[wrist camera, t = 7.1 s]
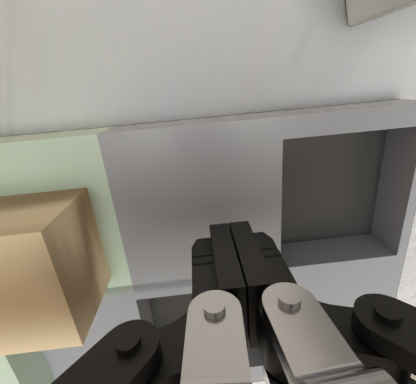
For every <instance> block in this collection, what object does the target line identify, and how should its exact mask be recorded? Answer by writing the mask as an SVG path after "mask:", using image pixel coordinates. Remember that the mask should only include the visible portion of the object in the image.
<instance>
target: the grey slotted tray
mask: <svg viewBox="0 0 416 384" xmlns="http://www.w3.org/2000/svg"><path fill="white" fill-rule="evenodd" d="M77 188H87V190H88V194H89V197H90V201H91V204H92V208H93V212H94V215H95V219H96V222H97V226H98V230H99V233H100V237H101V241H102V244H103V248H104V251H105V255H106V259H107V262H108V266H109V269H110V273H111V279H110V282H109V284H108V286H107V289H106V291H105V294H104V296H103V298H102V301H101V303H100V306H99V308H98V310H97V313H96V315H95V318H94V320H93V323H92V325H91V327H90V330H89V332H88V335H87V337H86V339H85V342H84V344H83V346H77V347H69V348H61V349H53V350H45V351H36V352H28V353H20V354H12V355H4V356H0V384H51V383H52V382H53V381H54V380H55V379H57V378H58V377H59V376H60V375H61V374H62V373H63V372H64V371H66V370H67V369H68V368H69V367H70V366H71V365H72V364H73V363H75V362H76V361H77V360H78V359H79V358H80V357H81V356H82V355H84V354H85V353H86V352H87V351H88V350H89V349H90V348H91V347H93V346H94V345H95V344H96V343H97V342H98V341H99V340H100V339H102V338H103V337H104V336H105V335H106V334H107V333H108V332H109V331H111V330H112V329H113V328H114V327H116V326H118V325H119V324H121V323H124V322H126V321H130V320H137V319H140V320H146V321H148V322H150V323H152V324H153V325H154V326H155V327H156V329H157V328H160V327H162V326H165V325H167V324H170V323H172V322H174V321H176V320H177V319H179V318H180V317H182V316H183V315H184V314H185V313H186V312H187V310H188V307H189V305H190V303H191V301H192V246H193V244H194V243H195V241H196V240H197V239H201V238H210V229H209V225H211V224H221V223H228V225H229V223H230V222H239V221H248V222H249V224H250V226H251V229H252V231H253V233H257V232H264V233H266V234H267V235H268V236H270V237H271V238H272V239H273V240H274V242H275V244H276V246H277V249H279V251H280V253H281V256H282V257H283V259H284V261H285V262H286V264H287V266H288V268H289V270H290V272H291V273H292V275H293V277H294V279H295V281H296V283H297V284H298V285H300V286H302V287H304V288H306V289H307V290H309V291H310V292H311V293H312V294H313V295H314V296H315V298H316V299H317V301H320V302H323V303H326V304H332V305H339V306H346V307H354V302H355V300H356V299H357V298H358V297H360V296H361V295H364V294H370V293H375V294H383V295H387V296H390V297H393V298H396V296H397V291H398V287H399V283H400V278H401V274H402V269H403V265H404V260H405V256H406V252H407V247H408V243H409V238H410V234H411V229H412V225H413V220H414V216H415V212H416V100H403V99H396V100H386V101H375V102H365V103H354V104H344V105H333V106H323V107H312V108H302V109H291V110H281V111H270V112H259V113H249V114H238V115H228V116H217V117H207V118H196V119H186V120H175V121H165V122H154V123H144V124H133V125H123V126H112V127H102V128H91V129H80V130H70V131H59V132H49V133H38V134H28V135H17V136H7V137H0V197H2V196H11V195H21V194H30V193H40V192H49V191H58V190H68V189H77ZM247 352H248V359H249V367H250V374H251V381H252V382H260V381H265V380H264V376H263V370H262V356H261V352H260V349H259V347H257V348H250V345H249V340H248V349H247Z"/></svg>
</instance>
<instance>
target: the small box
mask: <svg viewBox="0 0 416 384" xmlns="http://www.w3.org/2000/svg"><path fill="white" fill-rule="evenodd" d="M414 4H416V0H346V7H347V16H348V24H349V26H355V25H358V24H361V23H364V22H367V21H369V20H372V19H375V18H378V17H381V16H384V15H387V14H389V13H392V12H395V11H398V10H400V9H403V8H406V7H409V6H411V5H414Z"/></svg>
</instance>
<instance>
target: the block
mask: <svg viewBox="0 0 416 384" xmlns="http://www.w3.org/2000/svg"><path fill="white" fill-rule="evenodd" d="M110 279H111V273H110V269H109V266H108V262H107V259H106V255H105V251H104V248H103V244H102V241H101V237H100V233H99V230H98V226H97V222H96V219H95V215H94V212H93V208H92V204H91V201H90V197H89V194H88V190H87V188H77V189H68V190H58V191H49V192H40V193H30V194H21V195H11V196H2V197H0V356H4V355H12V354H20V353H28V352H36V351H45V350H53V349H61V348H69V347H77V346H83V344H84V342H85V339H86V337H87V335H88V332H89V330H90V327H91V325H92V323H93V320H94V318H95V315H96V313H97V310H98V308H99V306H100V303H101V301H102V298H103V296H104V294H105V291H106V289H107V286H108V284H109V282H110Z"/></svg>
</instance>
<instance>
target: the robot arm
mask: <svg viewBox="0 0 416 384" xmlns="http://www.w3.org/2000/svg"><path fill="white" fill-rule="evenodd" d="M209 229H210V238H201V239H197V240H196V241H195V243H194V244H193V246H192V301H191V303H190V305H189V307H188V310H187V312H186V313H185V314H184V315H183V316H182V317H180V318H179V319H177V320H176V321H174V322H172V323H170V324H167V325H165V326H162V327H160V328H157V329H156V327H155V326H154V325H153V324H152V323H150V322H148V321H146V320H140V319H137V320H130V321H126V322H124V323H121V324H119V325H118V326H116V327H114V328H113V329H112V330H111V331H109V332H108V333H107V334H106V335H105V336H104V337H103V338H102V339H100V340H99V341H98V342H97V343H96V344H95V345H94V346H93V347H91V348H90V349H89V350H88V351H87V352H86V353H85V354H84V355H82V356H81V357H80V358H79V359H78V360H77V361H76V362H75V363H73V364H72V365H71V366H70V367H69V368H68V369H67V370H66V371H64V372H63V373H62V374H61V375H60V376H59V377H58V378H57V379H55V380H54V381H53V382H52V383H51V384H252V381H251V374H250V367H249V359H248V352H247V349H248V340H249V345H250V348H257V347H259V349H260V352H261V356H262V370H263V376H264V380H265V383H266V384H416V381H415V380H413V379H412V378H410V376H411V373H412V374H414V375H416V307H414V306H412V305H409V304H407V303H405V302H403V301H400V300H398V299H396V298H393V297H390V296H387V295H383V294H375V293H370V294H364V295H361V296H360V297H358V298H357V299H356V300H355V302H354V307H346V306H339V305H332V304H326V303H323V302H320V301H317V299H316V298H315V296H314V295H313V294H312V293H311V292H310V291H309V290H307V289H306V288H304V287H302V286H300V285H298V284H297V283H296V281H295V279H294V277H293V275H292V273H291V272H290V270H289V268H288V266H287V264H286V262H285V261H284V259H283V257H282V256H281V253H280V251H279V249H277V246H276V244H275V242H274V240H273V239H272V238H271V237H270V236H268V235H267V234H266V233H264V232H257V233H253V231H252V229H251V226H250V224H249V222H248V221H239V222H230V223H229V225H228V223H221V224H211V225H209Z"/></svg>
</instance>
